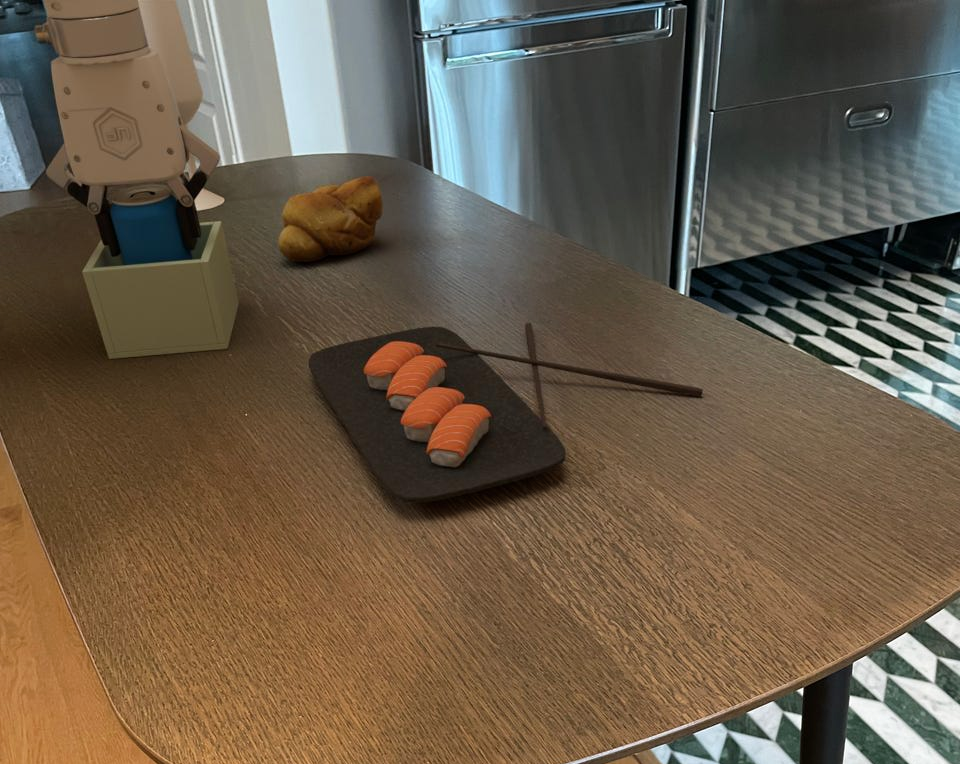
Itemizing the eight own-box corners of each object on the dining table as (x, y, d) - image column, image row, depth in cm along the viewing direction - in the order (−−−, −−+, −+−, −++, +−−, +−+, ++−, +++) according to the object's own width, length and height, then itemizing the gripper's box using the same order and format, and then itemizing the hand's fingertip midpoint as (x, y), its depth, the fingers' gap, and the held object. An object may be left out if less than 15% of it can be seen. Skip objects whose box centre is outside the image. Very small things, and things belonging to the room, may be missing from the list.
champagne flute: (234, 200, 135) (192, -9, 120) (192, 214, 132) (144, -1, 116) (206, 192, 139) (161, -13, 123) (164, 205, 135) (113, -4, 120)
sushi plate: (302, 371, 94) (295, 332, 91) (590, 309, 101) (591, 271, 99) (400, 529, 73) (394, 483, 70) (754, 435, 80) (760, 391, 78)
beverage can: (206, 301, 105) (178, 180, 97) (204, 326, 100) (174, 200, 92) (143, 309, 104) (109, 187, 96) (137, 334, 99) (102, 207, 91)
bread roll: (298, 275, 113) (286, 201, 107) (261, 253, 119) (247, 182, 114) (396, 247, 118) (388, 175, 113) (355, 227, 124) (346, 158, 119)
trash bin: (109, 359, 98) (81, 271, 92) (129, 312, 107) (106, 230, 101) (227, 349, 98) (208, 261, 93) (239, 303, 107) (221, 220, 102)
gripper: (-15, 53, 83) (56, 270, 94) (196, 37, 83) (241, 255, 95) (10, 36, 88) (74, 243, 100) (207, 21, 89) (248, 228, 100)
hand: (154, 247), depth 97 cm, fingers closed on beverage can, 6 cm apart
